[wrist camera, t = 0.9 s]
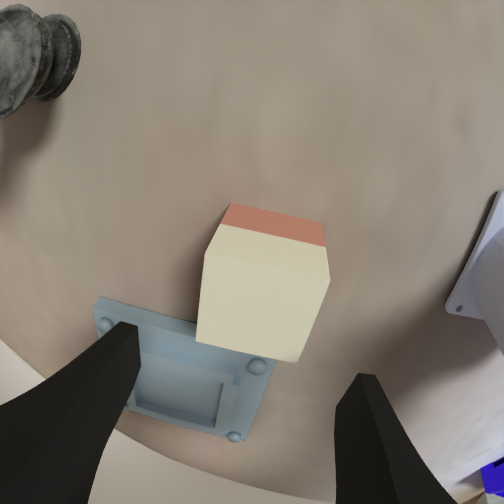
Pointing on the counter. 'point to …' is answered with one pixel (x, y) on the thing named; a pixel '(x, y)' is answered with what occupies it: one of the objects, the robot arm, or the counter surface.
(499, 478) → the bracket
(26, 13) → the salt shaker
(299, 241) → the cream and red block
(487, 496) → the skincare box
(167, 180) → the counter surface
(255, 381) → the base plate
